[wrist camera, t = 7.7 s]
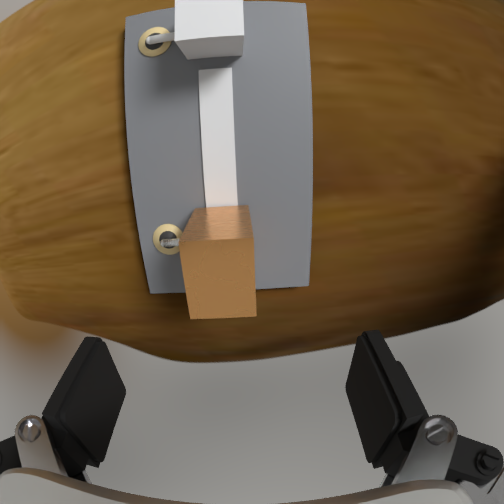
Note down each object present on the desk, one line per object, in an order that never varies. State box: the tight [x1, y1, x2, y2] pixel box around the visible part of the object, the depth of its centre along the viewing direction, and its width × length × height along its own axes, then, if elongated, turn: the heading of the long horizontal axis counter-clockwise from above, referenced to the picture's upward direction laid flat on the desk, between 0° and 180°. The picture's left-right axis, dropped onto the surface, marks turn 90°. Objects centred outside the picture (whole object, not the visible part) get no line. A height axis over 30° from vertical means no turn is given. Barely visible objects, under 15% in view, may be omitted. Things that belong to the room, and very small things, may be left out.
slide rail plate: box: [124, 0, 313, 293], centre depth 19 cm, size 14×24×6 cm, turn 2°
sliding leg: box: [160, 205, 256, 319], centre depth 20 cm, size 7×5×7 cm
